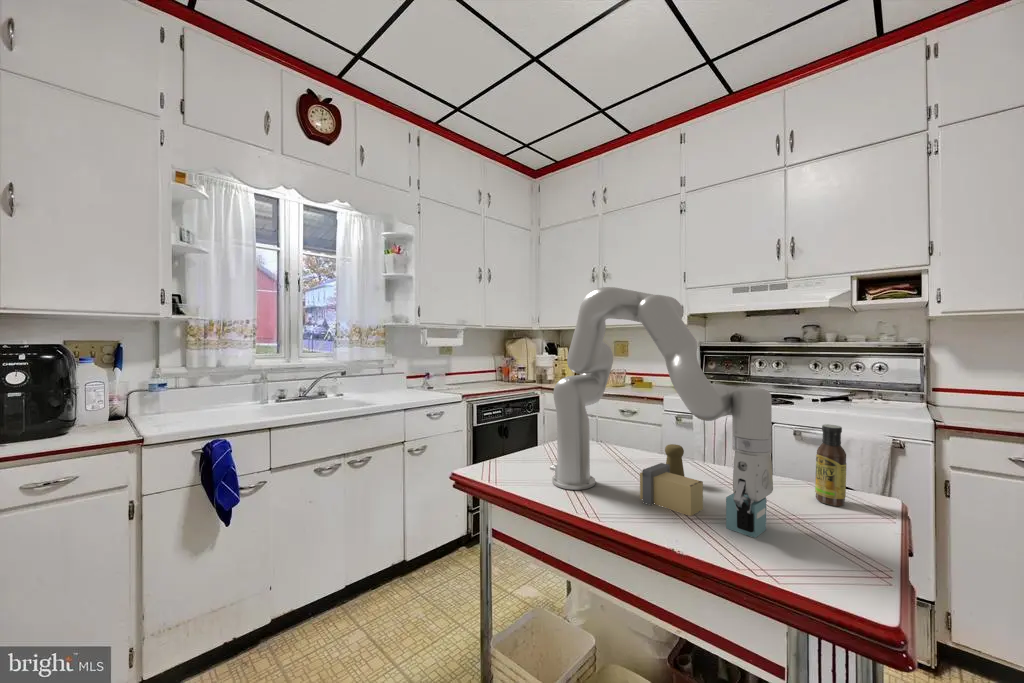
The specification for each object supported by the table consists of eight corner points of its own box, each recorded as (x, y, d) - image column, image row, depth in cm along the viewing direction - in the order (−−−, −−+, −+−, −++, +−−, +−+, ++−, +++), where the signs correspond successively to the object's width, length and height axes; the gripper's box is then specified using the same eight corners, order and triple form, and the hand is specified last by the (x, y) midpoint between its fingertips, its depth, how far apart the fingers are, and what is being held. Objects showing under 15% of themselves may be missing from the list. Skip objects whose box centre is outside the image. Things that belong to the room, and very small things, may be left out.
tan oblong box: (636, 500, 111) (636, 468, 110) (655, 492, 116) (655, 461, 116) (687, 518, 100) (687, 481, 100) (705, 508, 105) (705, 473, 105)
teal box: (726, 528, 94) (726, 497, 94) (737, 520, 98) (737, 490, 98) (755, 538, 89) (755, 505, 89) (766, 529, 93) (766, 498, 93)
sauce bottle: (809, 498, 111) (809, 423, 110) (829, 497, 112) (829, 422, 112) (831, 508, 104) (831, 428, 104) (853, 506, 105) (852, 427, 105)
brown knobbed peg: (681, 478, 127) (681, 442, 127) (688, 485, 121) (688, 447, 121) (661, 478, 128) (661, 442, 127) (666, 485, 122) (666, 447, 121)
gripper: (753, 455, 84) (754, 544, 84) (785, 441, 95) (785, 520, 95) (716, 447, 90) (716, 531, 90) (749, 435, 101) (749, 509, 101)
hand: (751, 524), depth 93 cm, fingers closed on teal box, 6 cm apart
